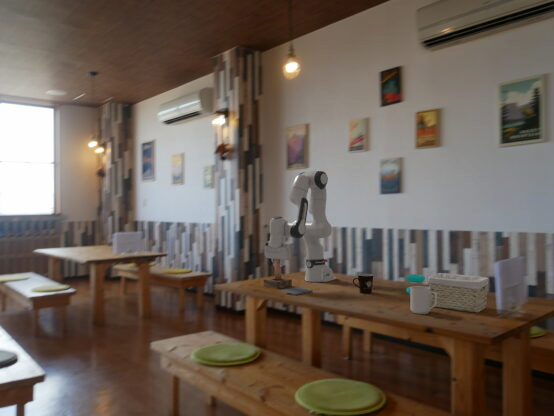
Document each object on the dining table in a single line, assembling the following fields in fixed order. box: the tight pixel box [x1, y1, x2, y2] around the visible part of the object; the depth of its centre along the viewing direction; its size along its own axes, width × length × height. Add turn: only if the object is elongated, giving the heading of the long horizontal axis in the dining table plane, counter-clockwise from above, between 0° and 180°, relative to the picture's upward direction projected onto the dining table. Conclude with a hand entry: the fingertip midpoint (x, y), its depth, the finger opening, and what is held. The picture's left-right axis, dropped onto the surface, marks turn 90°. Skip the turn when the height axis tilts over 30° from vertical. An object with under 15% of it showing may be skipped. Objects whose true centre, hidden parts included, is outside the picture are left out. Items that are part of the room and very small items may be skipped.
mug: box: [409, 285, 437, 315], centre depth 204 cm, size 12×9×11 cm
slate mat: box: [277, 286, 313, 297], centre depth 257 cm, size 14×14×1 cm
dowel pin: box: [273, 259, 282, 280], centre depth 271 cm, size 4×4×12 cm
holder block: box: [263, 277, 293, 290], centre depth 271 cm, size 12×12×5 cm
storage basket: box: [427, 272, 490, 314], centre depth 213 cm, size 24×16×15 cm
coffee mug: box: [352, 273, 374, 295], centre depth 252 cm, size 12×9×10 cm
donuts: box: [405, 273, 426, 295], centre depth 247 cm, size 10×10×10 cm
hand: (277, 266), depth 271 cm, fingers closed on dowel pin, 4 cm apart
